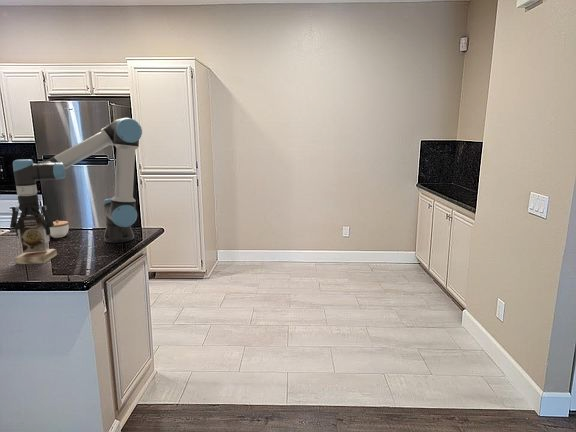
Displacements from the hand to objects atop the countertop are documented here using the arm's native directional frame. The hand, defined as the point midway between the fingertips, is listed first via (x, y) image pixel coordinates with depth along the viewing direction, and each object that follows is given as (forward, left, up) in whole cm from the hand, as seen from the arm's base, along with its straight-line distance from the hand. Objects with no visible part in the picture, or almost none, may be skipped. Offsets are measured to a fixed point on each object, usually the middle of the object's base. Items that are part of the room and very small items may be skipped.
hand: (34, 242), depth 176 cm
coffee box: (0, 0, -4) cm, 4 cm away
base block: (0, 0, -8) cm, 8 cm away
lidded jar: (+9, -41, -8) cm, 43 cm away
